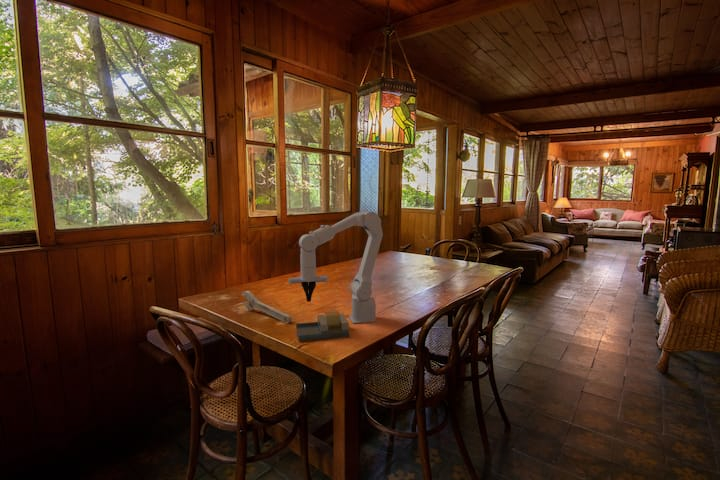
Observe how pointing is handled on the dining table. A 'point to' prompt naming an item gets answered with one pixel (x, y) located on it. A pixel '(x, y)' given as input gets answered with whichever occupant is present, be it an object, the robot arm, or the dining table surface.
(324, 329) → the bar
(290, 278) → the robot arm
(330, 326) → the brass block
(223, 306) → the dining table surface
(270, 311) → the wrench
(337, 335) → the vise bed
